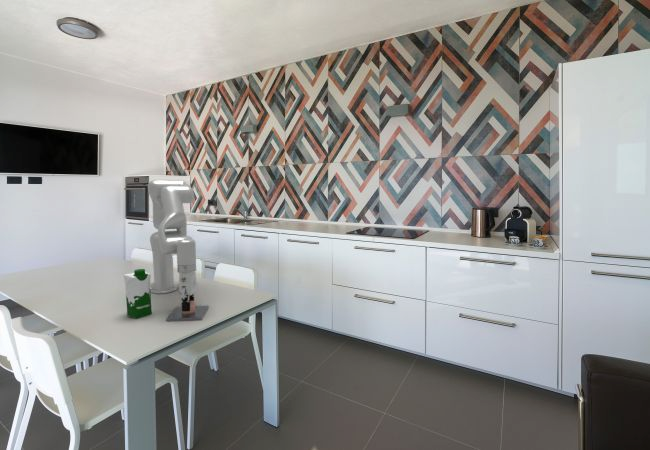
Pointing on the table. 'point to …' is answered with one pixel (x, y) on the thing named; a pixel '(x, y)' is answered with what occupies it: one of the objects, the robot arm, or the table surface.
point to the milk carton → (138, 293)
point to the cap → (192, 307)
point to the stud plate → (179, 316)
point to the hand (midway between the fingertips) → (188, 307)
